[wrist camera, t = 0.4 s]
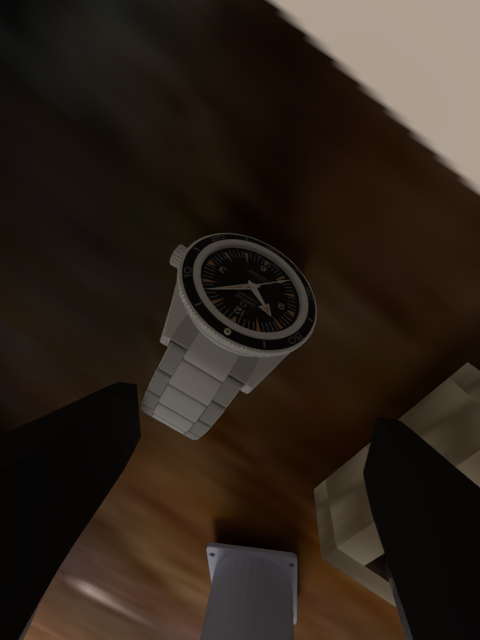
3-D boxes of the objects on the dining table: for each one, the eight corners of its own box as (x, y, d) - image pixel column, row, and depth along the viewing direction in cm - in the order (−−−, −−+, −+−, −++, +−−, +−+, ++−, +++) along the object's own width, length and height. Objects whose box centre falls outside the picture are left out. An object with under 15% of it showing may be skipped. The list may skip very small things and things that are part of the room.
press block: (398, 546, 23) (427, 627, 18) (313, 489, 22) (321, 558, 18) (571, 439, 18) (674, 514, 13) (467, 361, 17) (536, 411, 13)
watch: (314, 264, 17) (369, 323, 6) (247, 360, 20) (211, 508, 9) (237, 215, 16) (166, 195, 6) (180, 319, 19) (66, 426, 9)
